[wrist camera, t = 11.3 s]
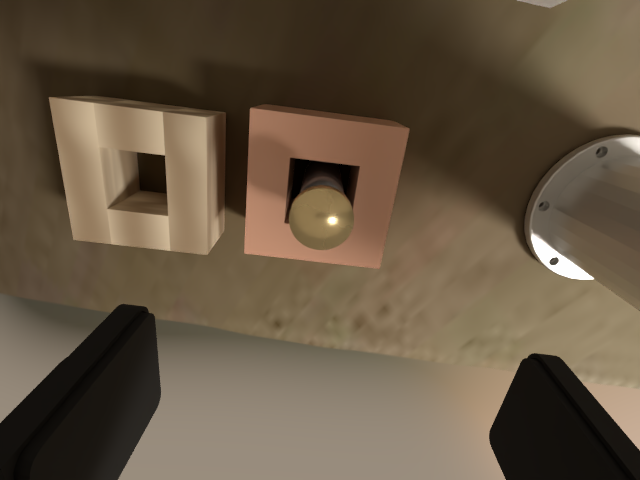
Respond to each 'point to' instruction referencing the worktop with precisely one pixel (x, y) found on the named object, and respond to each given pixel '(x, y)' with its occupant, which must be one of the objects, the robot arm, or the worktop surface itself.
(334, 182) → the pin
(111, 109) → the mount
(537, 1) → the milk
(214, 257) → the worktop surface
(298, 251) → the dock
